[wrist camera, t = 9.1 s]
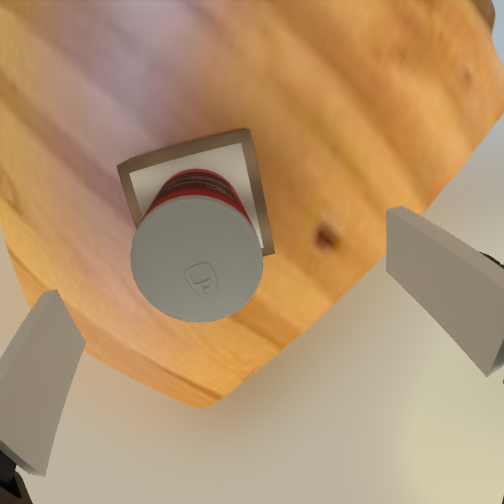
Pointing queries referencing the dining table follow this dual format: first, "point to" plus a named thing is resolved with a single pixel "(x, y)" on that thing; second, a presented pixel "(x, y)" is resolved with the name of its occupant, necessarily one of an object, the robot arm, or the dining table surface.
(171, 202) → the canned food
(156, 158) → the base block
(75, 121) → the dining table surface
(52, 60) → the dining table surface
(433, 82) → the dining table surface
